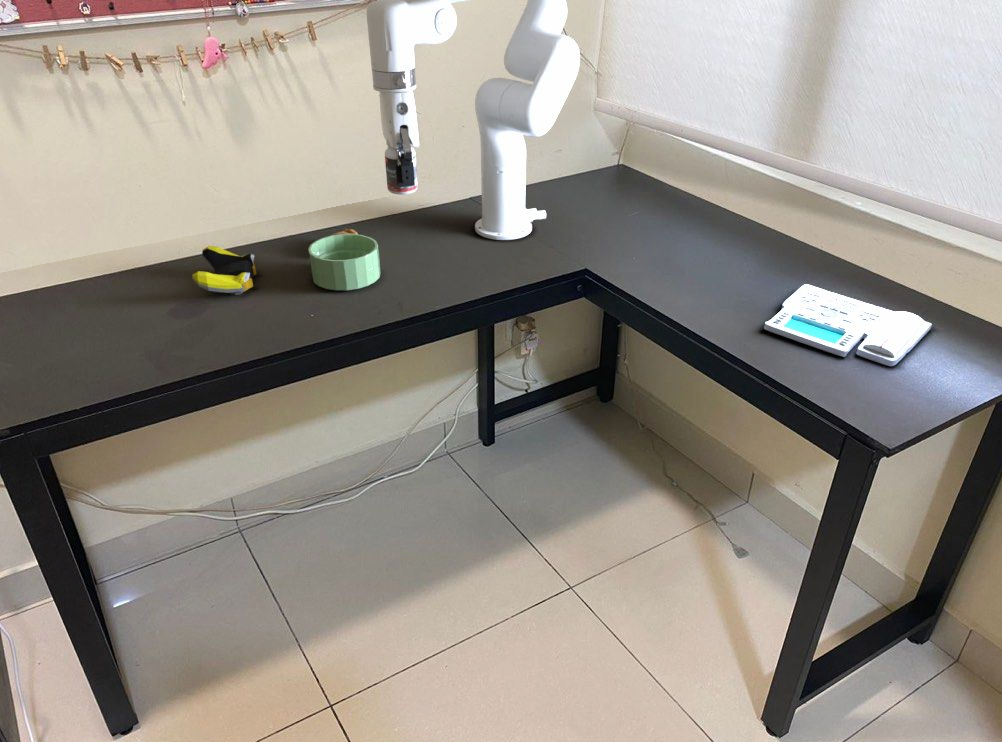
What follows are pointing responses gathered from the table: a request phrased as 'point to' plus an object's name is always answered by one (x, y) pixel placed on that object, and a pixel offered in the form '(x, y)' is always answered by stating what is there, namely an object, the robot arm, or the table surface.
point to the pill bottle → (391, 171)
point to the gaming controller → (226, 272)
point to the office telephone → (847, 325)
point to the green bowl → (344, 261)
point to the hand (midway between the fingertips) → (401, 179)
